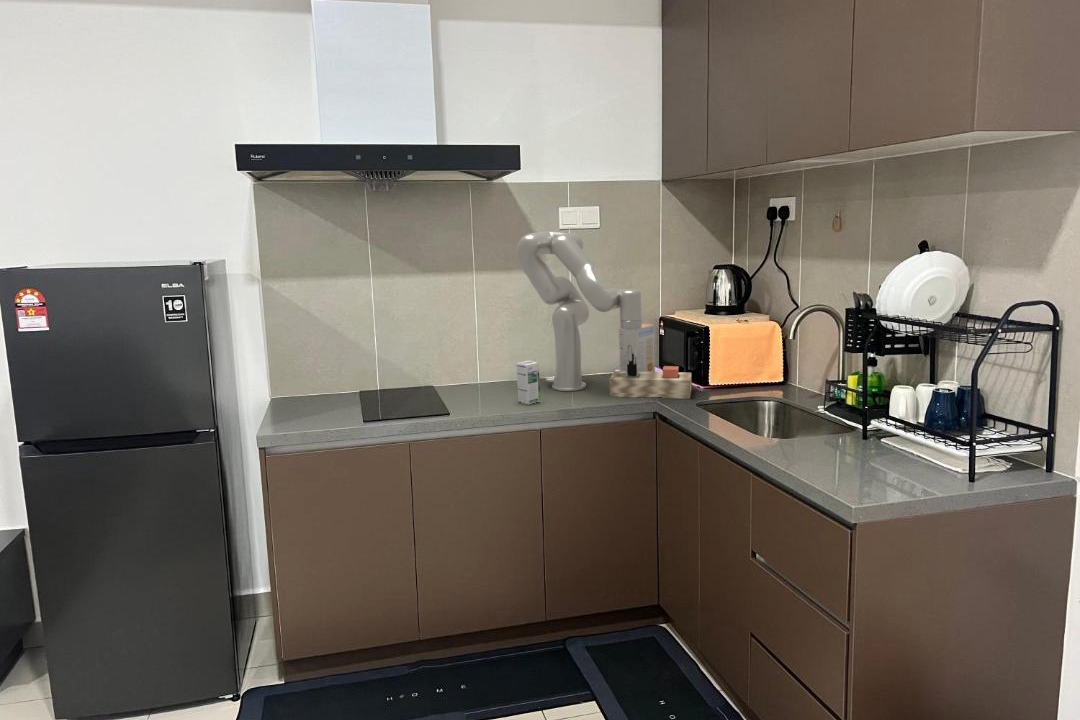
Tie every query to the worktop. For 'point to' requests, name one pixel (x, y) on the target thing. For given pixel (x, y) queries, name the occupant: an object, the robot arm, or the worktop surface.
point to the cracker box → (641, 350)
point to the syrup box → (528, 381)
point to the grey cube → (631, 375)
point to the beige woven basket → (650, 385)
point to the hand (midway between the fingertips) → (632, 374)
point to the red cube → (671, 372)
